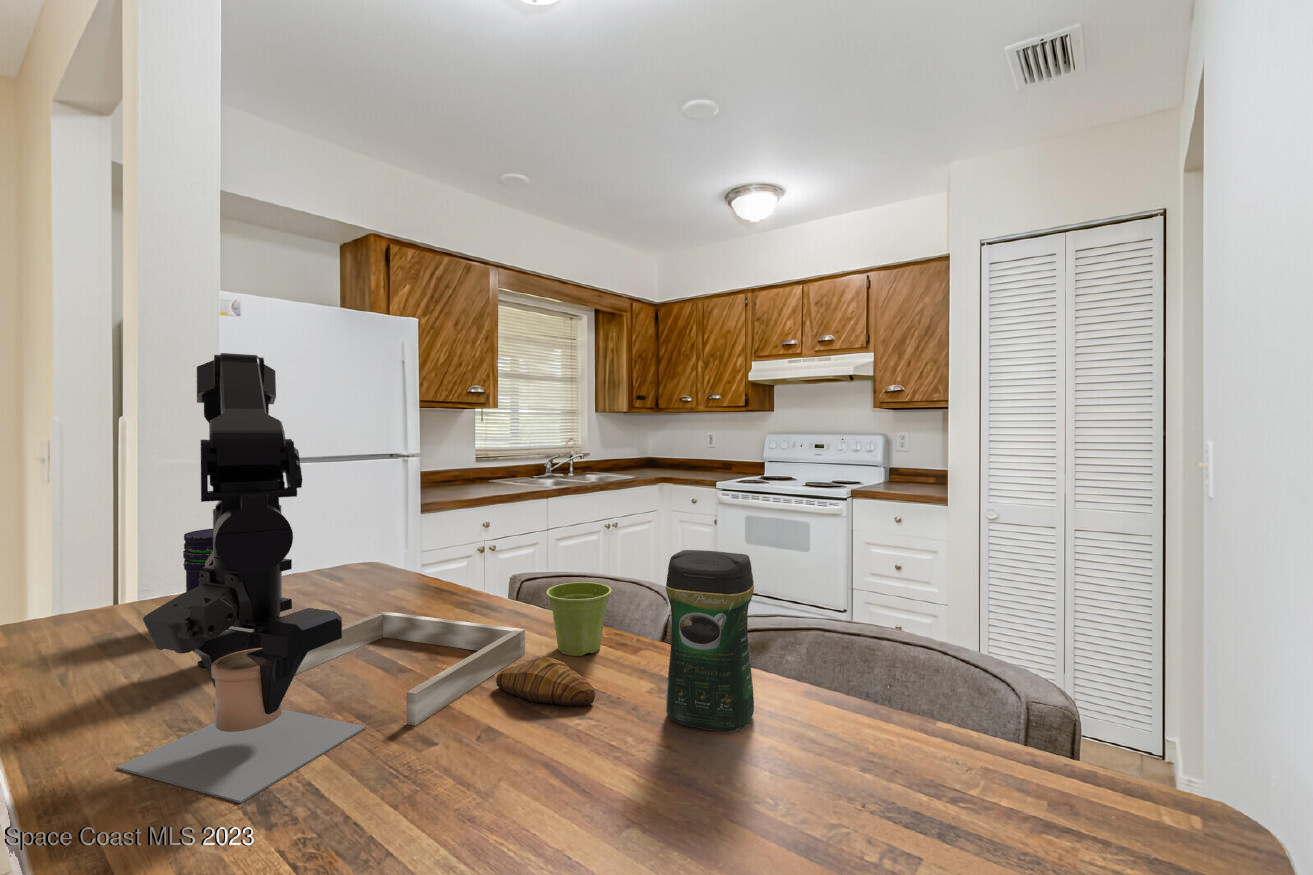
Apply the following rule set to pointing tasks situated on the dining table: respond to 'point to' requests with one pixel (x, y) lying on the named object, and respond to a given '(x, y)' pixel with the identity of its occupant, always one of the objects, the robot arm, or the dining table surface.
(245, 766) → the grey mat
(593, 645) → the plant pot
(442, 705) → the metal u frame
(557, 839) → the dining table surface
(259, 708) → the pot
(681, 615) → the coffee jar
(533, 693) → the croissant
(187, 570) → the storage jar
